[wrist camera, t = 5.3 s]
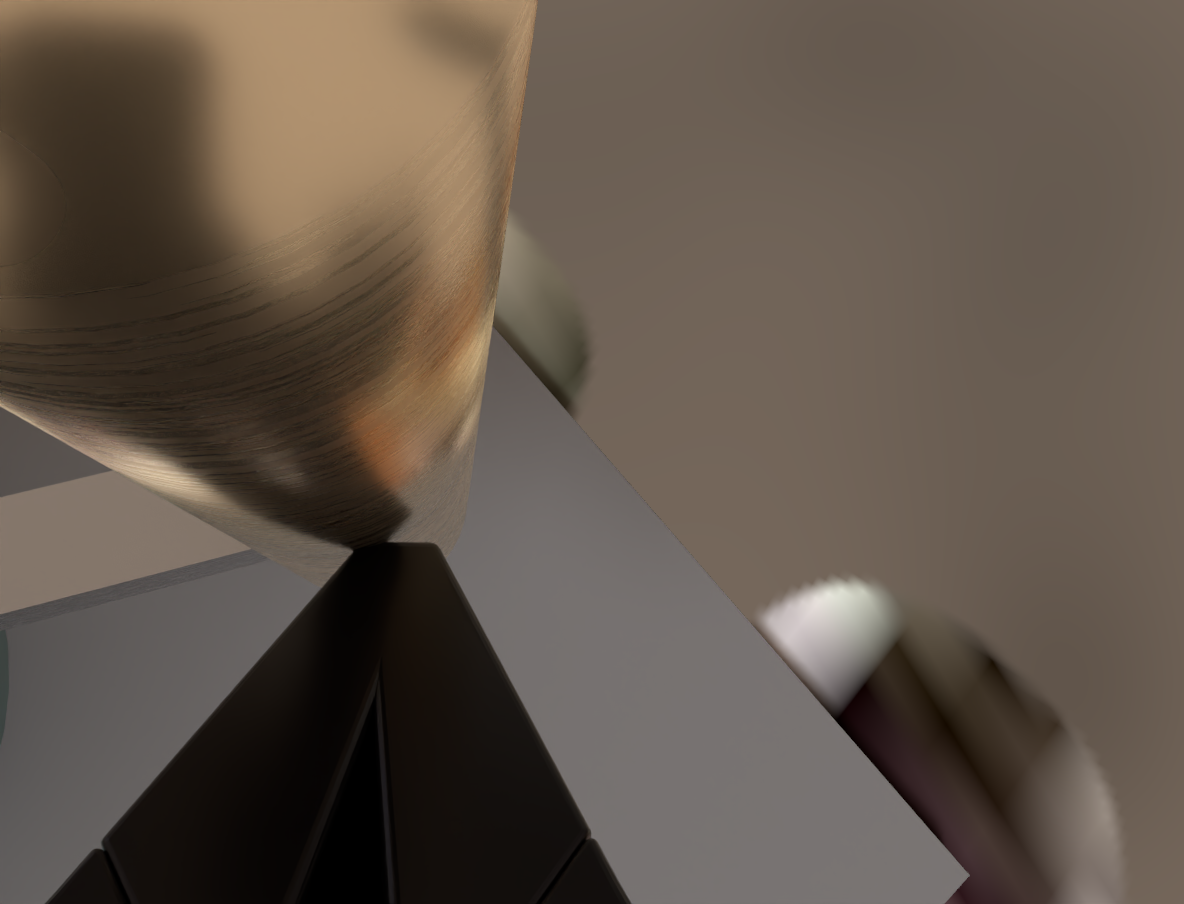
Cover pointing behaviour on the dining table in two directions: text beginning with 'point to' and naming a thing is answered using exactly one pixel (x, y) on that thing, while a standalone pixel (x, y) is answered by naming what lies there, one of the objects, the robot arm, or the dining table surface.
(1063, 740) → the dining table surface
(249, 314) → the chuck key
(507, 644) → the mat
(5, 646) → the teal round piece
